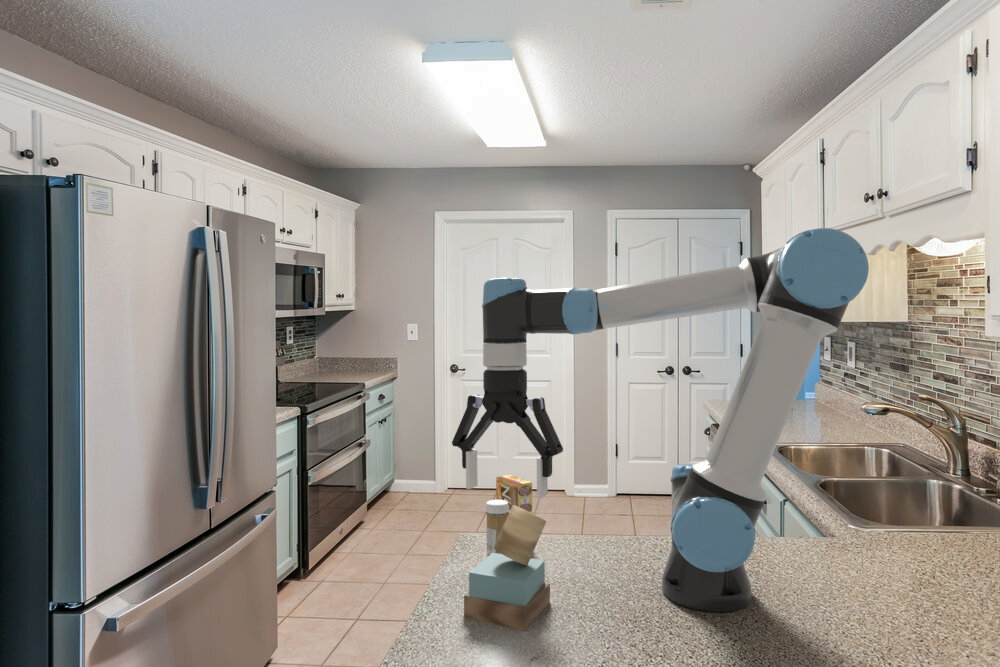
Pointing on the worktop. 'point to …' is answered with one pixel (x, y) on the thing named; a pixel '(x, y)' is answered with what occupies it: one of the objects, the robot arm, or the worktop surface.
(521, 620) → the tower bottom
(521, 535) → the beige piece
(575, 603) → the worktop surface
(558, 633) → the worktop surface
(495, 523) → the sprinkles bottle
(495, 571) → the tower top
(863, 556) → the worktop surface
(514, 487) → the candy box
